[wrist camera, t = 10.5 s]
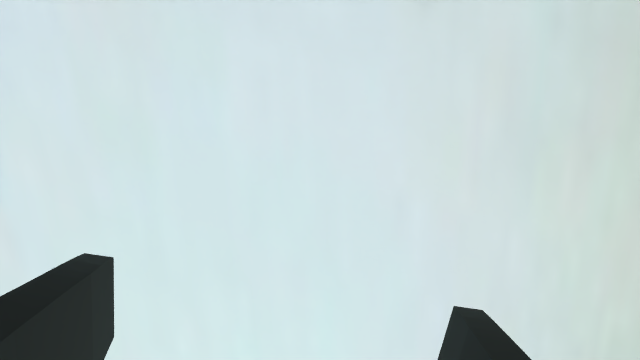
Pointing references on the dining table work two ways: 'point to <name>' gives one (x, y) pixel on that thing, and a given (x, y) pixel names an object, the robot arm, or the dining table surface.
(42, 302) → the robot arm
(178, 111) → the dining table surface
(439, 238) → the dining table surface
